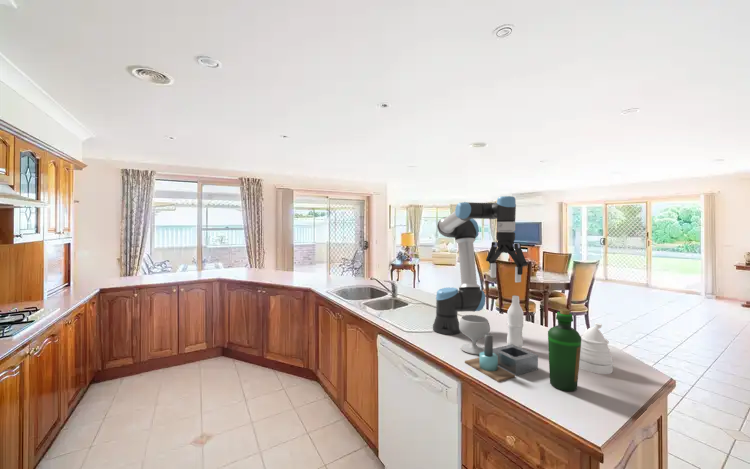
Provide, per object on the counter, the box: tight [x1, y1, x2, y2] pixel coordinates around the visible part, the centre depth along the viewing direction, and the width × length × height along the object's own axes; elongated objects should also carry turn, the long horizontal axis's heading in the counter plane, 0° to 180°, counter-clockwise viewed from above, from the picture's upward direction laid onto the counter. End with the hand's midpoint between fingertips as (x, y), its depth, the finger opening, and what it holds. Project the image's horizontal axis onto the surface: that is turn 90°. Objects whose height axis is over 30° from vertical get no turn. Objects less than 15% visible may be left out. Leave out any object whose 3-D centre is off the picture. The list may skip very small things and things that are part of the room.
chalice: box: [459, 314, 491, 355], centre depth 145 cm, size 14×14×15 cm
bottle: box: [547, 308, 582, 392], centre depth 112 cm, size 11×11×28 cm
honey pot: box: [579, 322, 614, 375], centre depth 128 cm, size 13×13×18 cm
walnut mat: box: [464, 357, 516, 383], centre depth 125 cm, size 18×9×1 cm, turn 25°
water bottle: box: [506, 295, 525, 349], centre depth 148 cm, size 7×7×25 cm
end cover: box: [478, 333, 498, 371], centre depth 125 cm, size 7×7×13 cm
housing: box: [493, 344, 539, 377], centre depth 128 cm, size 13×13×6 cm
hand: (505, 279), depth 136 cm, fingers open, 13 cm apart
